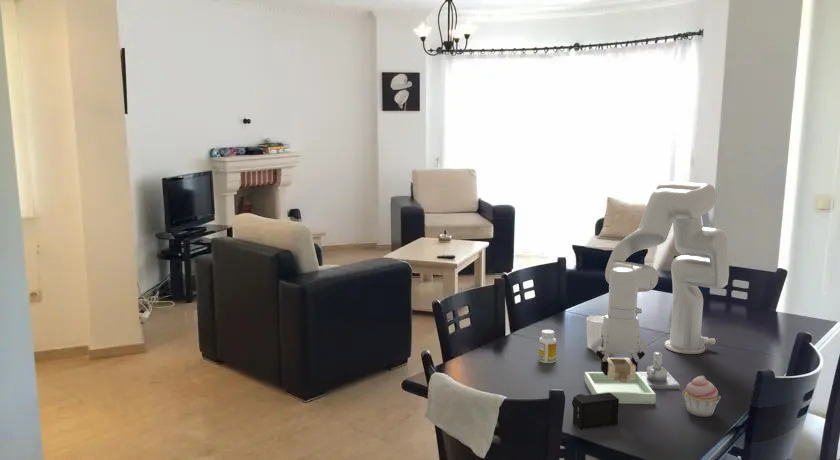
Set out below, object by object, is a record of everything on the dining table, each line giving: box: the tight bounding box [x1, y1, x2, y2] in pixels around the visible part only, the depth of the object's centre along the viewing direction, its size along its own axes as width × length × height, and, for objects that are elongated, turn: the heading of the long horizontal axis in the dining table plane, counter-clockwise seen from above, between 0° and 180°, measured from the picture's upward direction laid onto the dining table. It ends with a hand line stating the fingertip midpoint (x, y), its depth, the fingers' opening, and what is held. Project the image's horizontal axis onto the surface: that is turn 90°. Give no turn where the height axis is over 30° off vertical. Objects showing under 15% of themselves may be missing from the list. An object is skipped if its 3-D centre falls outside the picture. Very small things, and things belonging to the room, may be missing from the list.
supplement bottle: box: [538, 329, 557, 364], centre depth 210 cm, size 5×5×10 cm
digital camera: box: [571, 393, 620, 430], centre depth 166 cm, size 10×5×7 cm, turn 105°
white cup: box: [586, 315, 605, 352], centre depth 222 cm, size 8×8×10 cm
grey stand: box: [637, 351, 681, 390], centre depth 192 cm, size 10×10×9 cm
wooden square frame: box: [606, 356, 636, 382], centre depth 184 cm, size 9×7×4 cm
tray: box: [583, 371, 657, 405], centre depth 186 cm, size 16×16×3 cm
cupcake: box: [682, 375, 722, 418], centre depth 172 cm, size 9×9×10 cm
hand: (618, 373), depth 185 cm, fingers closed on wooden square frame, 7 cm apart
